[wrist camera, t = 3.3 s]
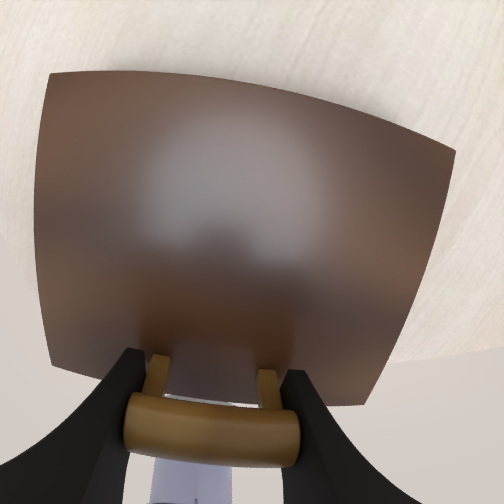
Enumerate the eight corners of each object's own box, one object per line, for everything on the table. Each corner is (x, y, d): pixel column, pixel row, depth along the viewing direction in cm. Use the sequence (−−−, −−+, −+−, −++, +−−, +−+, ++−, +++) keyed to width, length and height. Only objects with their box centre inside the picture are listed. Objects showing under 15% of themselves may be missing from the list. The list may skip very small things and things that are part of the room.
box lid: (359, 395, 13) (395, 473, 8) (57, 356, 11) (11, 431, 7) (445, 149, 10) (543, 164, 5) (59, 76, 8) (-33, 50, 3)
